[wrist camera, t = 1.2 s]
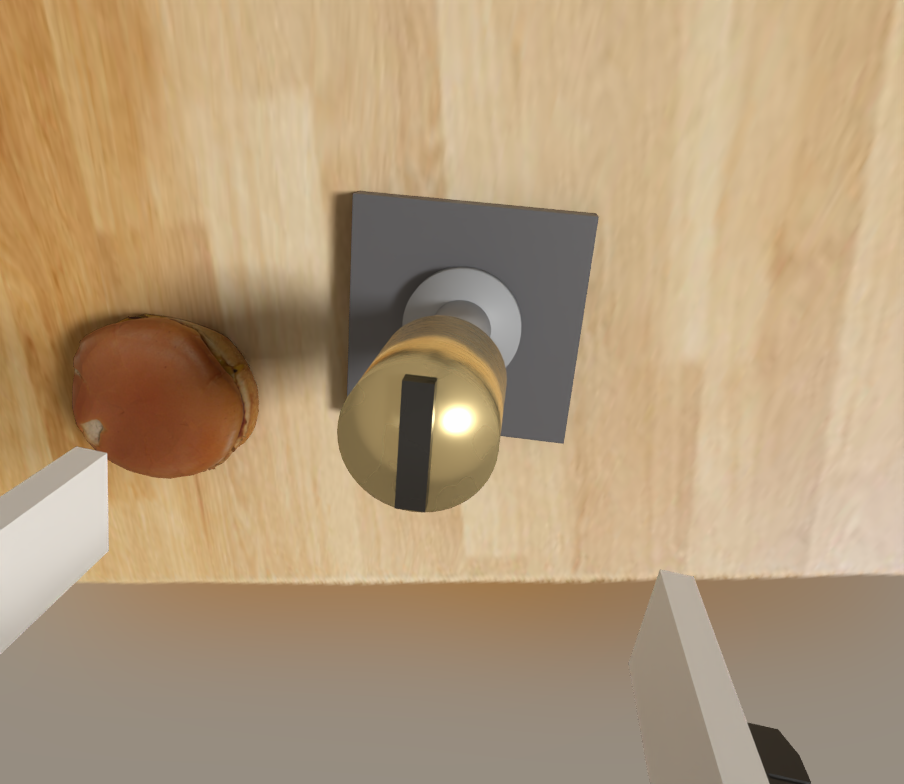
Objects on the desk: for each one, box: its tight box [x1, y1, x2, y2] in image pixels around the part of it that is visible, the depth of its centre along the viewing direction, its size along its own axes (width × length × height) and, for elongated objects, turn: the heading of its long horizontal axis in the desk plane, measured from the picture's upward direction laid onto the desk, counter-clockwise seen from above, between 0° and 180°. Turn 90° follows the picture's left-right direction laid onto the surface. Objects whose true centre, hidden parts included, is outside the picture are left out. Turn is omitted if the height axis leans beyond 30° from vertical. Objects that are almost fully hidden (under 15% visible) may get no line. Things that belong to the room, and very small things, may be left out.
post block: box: [347, 191, 598, 444], centre depth 32 cm, size 12×12×10 cm
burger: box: [72, 314, 259, 479], centre depth 38 cm, size 10×9×5 cm
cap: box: [337, 315, 507, 512], centre depth 24 cm, size 5×5×7 cm
